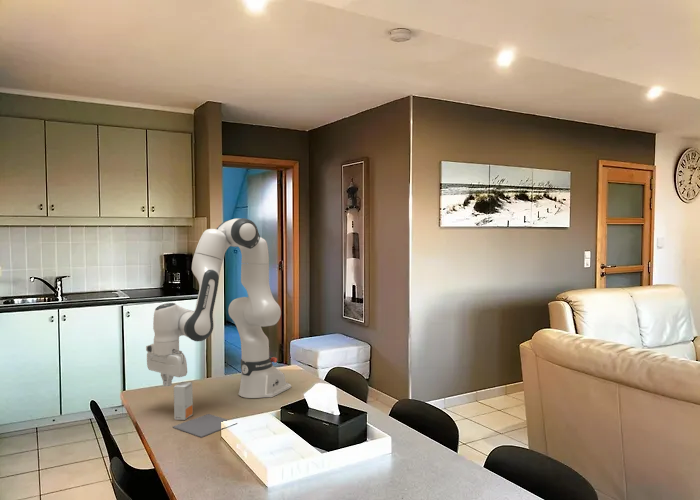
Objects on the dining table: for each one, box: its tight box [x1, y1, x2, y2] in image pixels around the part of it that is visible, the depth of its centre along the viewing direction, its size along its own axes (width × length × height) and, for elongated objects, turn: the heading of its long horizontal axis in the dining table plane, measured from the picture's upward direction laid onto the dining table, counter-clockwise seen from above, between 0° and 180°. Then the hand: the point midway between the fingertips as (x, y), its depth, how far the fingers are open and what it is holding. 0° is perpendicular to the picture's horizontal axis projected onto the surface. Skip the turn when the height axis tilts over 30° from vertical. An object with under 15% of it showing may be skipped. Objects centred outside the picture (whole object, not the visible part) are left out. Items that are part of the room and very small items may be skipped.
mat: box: [172, 413, 228, 439], centre depth 182 cm, size 15×16×1 cm
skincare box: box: [173, 381, 194, 421], centre depth 190 cm, size 6×4×12 cm
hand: (167, 385), depth 195 cm, fingers closed
